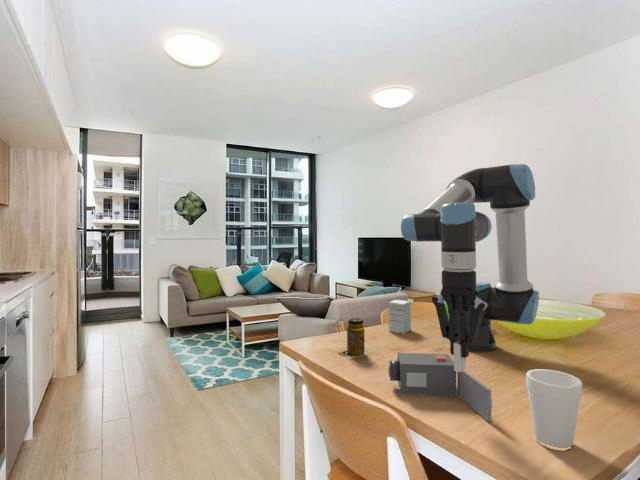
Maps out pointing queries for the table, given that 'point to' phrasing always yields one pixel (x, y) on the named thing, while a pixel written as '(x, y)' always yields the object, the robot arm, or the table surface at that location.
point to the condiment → (355, 339)
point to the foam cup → (554, 405)
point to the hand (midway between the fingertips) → (459, 369)
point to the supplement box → (399, 316)
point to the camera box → (424, 374)
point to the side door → (475, 394)
